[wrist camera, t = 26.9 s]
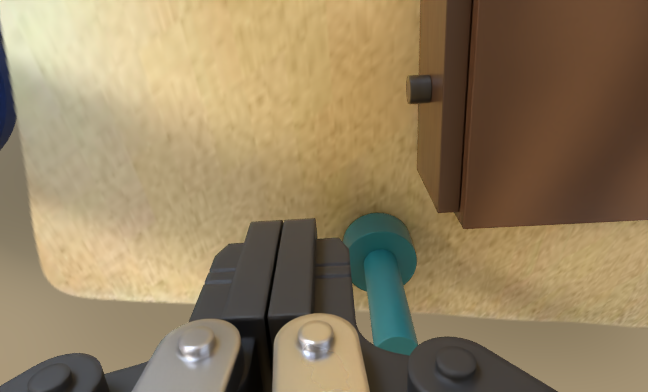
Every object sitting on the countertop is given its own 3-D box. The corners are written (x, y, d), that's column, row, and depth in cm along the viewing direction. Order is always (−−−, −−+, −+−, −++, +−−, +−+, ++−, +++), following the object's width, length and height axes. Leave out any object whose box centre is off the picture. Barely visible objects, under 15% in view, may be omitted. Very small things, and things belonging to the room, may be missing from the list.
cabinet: (431, 171, 34) (463, 229, 26) (438, -43, 28) (482, -54, 20) (655, 159, 33) (759, 215, 25) (708, -62, 28) (863, -81, 20)
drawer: (399, 170, 33) (416, 214, 26) (400, -30, 28) (421, -34, 21) (630, 158, 32) (703, 199, 26) (675, -48, 27) (779, -59, 21)
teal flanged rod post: (344, 272, 37) (351, 391, 26) (341, 214, 35) (346, 317, 24) (409, 269, 37) (443, 387, 26) (410, 210, 35) (448, 312, 24)
